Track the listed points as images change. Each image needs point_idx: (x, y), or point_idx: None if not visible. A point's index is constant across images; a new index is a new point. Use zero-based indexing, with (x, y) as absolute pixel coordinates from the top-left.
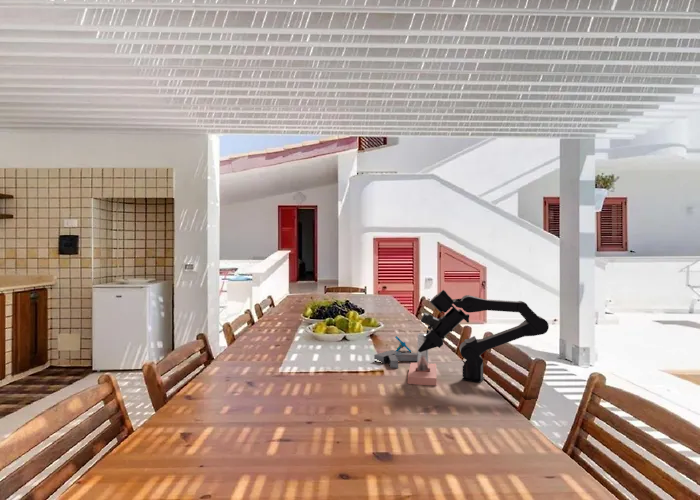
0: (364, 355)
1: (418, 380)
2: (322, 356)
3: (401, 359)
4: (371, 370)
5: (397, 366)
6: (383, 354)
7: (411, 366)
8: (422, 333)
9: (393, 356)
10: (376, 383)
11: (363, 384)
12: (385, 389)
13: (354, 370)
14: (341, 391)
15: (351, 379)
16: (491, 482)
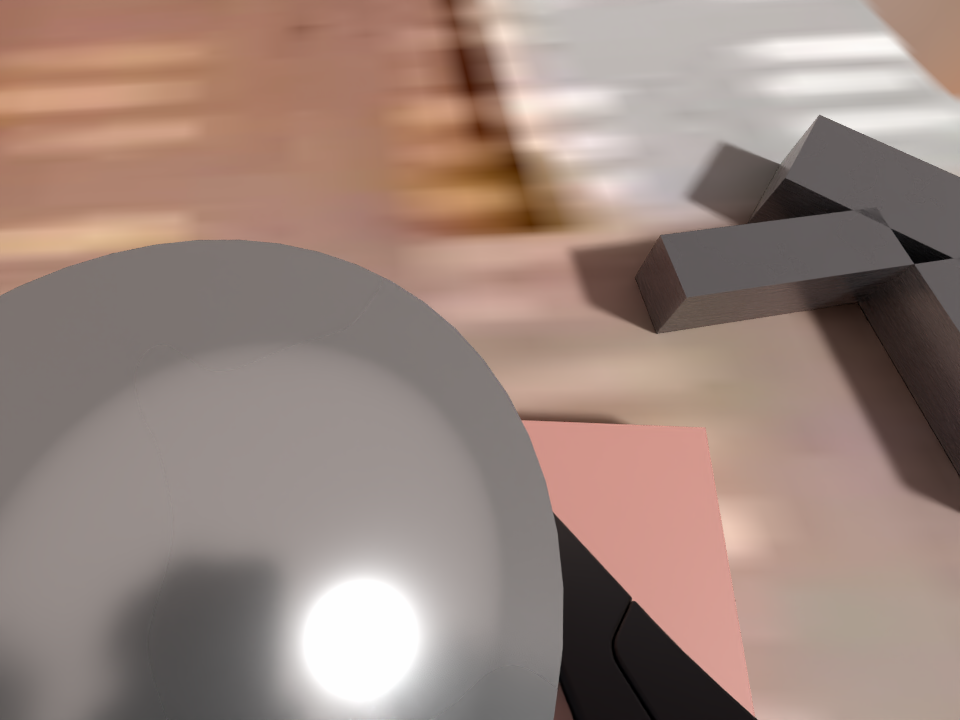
0: (926, 101)
1: None
2: None
3: (908, 346)
4: (534, 159)
5: (660, 320)
6: (866, 174)
7: (535, 437)
8: (549, 541)
9: (835, 253)
10: (195, 202)
11: (177, 134)
12: (30, 263)
13: (509, 74)
14: (43, 47)
15: (295, 72)
16: None
